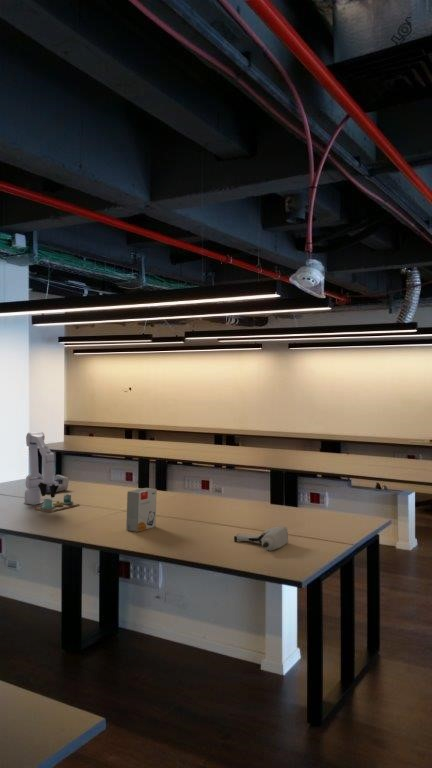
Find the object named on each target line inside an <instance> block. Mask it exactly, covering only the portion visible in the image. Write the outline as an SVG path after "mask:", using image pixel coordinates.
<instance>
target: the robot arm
mask: <svg viewBox="0 0 432 768" xmlns="http://www.w3.org/2000/svg"><path fill="white" fill-rule="evenodd" d="M25 444H26V446H27V447H28V449H29V450H28V451H29V468H30V469H29V470H30V473H29V474H28V475H26V476H25V487H26V489H25V492H24V502H23V504H27V505H33V506H34V505H40V504H44V501H42V499H41V498H42V497H45V496H46V494H47V493H46V487H47V484H49V485H52V486H49V487H50V491H51V493H50V499H53V498H55V496H56V493H57V492H56V490H57V488H58V487H59V485H58V483H59V482H56V481H54V477H55V476H54V472H55V471H54V470H55V469H54V465H55V462H56V453H55V452H52V451H51V449H50V448H49V446H48V445H46V443H45V433H44V432H43V431H41V432H38V431H37V432H27V433H26V436H25ZM38 448H39V450H38ZM38 451H39V453H40V456H41V457H42V458H41V461H42V466H43V475H42V474H41V473H40V472H39V469H40V468H39V456H38V454H39V453H38Z"/></svg>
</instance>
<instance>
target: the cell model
mask: <svg viewBox="0 0 432 768" xmlns="http://www.w3.org/2000/svg"><path fill="white" fill-rule="evenodd" d="M53 481H56V482H59V483H58V485H59V487H58V488H57V490H56V493H57V492H63V491H67V490H68V488H69V482H70V481H69V477H68V476H64V475H61V474H56V475H55V476H54V477H53ZM49 486H52V485H49V484H47V487H46V494H51V491H50V487H49Z"/></svg>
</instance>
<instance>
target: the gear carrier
mask: <svg viewBox="0 0 432 768" xmlns="http://www.w3.org/2000/svg"><path fill="white" fill-rule="evenodd" d="M52 505H54V506H55V508H53V509H49V510H47V509H41V506H38V507H35V510H36V511H42V512H46V513H54V512H58V511H63V510H66V509H67V510H68V509H71V508H75V507H79V506H80V503H76V502H74V500H72V494H69V493H66V494H64V495H63V500H62V501H59V500H56V501H52Z"/></svg>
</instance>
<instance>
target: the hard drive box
mask: <svg viewBox="0 0 432 768" xmlns="http://www.w3.org/2000/svg"><path fill="white" fill-rule="evenodd" d="M156 522H157V488H149V487H143V488H138V489H135V490H134V489H133V490H128V491H127V494H126V525H125V526H126V529H125V530H126V531H130V532H135V533H139V532H143V531H146V530H149V529H152V528H155V527H156V524H157V523H156Z"/></svg>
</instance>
